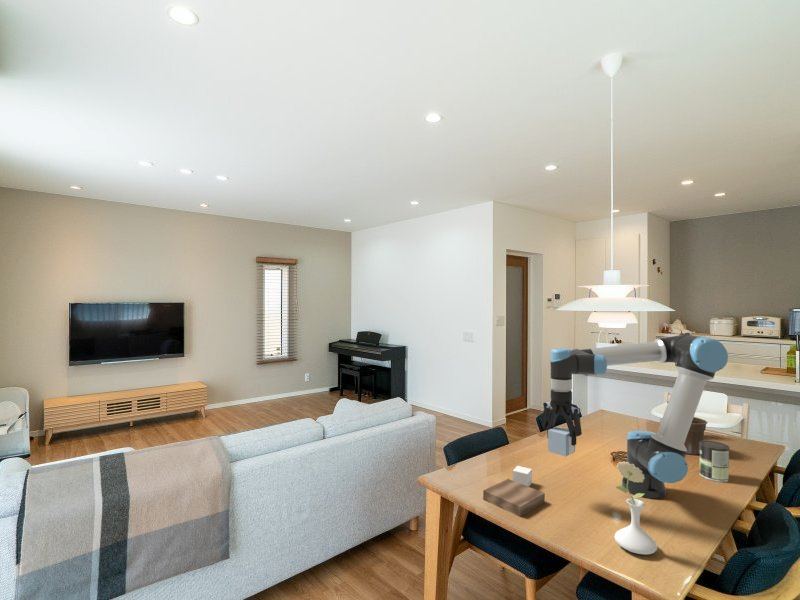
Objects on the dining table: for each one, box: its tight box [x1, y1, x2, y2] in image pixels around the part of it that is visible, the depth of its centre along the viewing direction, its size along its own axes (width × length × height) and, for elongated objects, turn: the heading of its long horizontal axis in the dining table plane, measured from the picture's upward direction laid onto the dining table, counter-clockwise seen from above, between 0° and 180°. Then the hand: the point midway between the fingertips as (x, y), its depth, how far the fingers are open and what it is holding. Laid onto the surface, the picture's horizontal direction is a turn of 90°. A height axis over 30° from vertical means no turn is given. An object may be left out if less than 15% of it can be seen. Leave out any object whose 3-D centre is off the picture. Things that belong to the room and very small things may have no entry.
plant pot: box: [684, 416, 708, 456], centre depth 209 cm, size 16×16×16 cm
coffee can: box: [698, 439, 730, 483], centre depth 177 cm, size 10×10×14 cm
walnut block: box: [482, 478, 546, 517], centre depth 155 cm, size 16×16×4 cm
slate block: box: [547, 426, 576, 457], centre depth 155 cm, size 7×7×8 cm
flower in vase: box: [614, 461, 658, 556], centre depth 127 cm, size 13×11×25 cm
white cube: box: [512, 465, 533, 487], centre depth 169 cm, size 6×6×6 cm
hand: (561, 450), depth 155 cm, fingers closed on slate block, 7 cm apart
